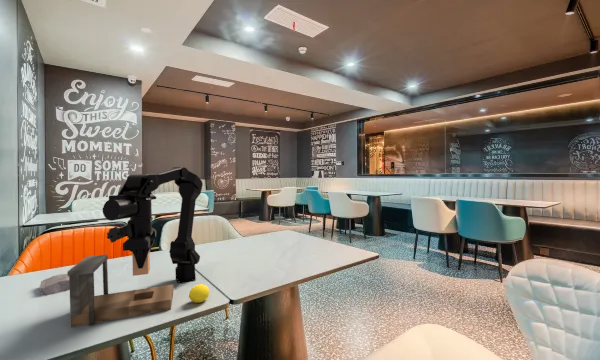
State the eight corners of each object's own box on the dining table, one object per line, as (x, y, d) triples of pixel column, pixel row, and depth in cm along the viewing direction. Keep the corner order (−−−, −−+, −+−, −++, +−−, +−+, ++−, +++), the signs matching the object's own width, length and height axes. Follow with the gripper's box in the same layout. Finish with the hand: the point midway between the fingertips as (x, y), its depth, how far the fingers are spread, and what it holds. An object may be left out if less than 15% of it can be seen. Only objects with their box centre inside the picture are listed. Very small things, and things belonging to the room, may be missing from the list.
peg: (150, 269, 86) (149, 241, 86) (148, 273, 83) (147, 244, 82) (135, 271, 85) (134, 242, 85) (132, 275, 81) (132, 245, 81)
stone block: (44, 302, 91) (81, 287, 98) (39, 289, 90) (77, 274, 98) (40, 293, 99) (75, 279, 106) (36, 281, 98) (71, 268, 106)
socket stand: (173, 291, 93) (172, 247, 93) (170, 311, 80) (169, 259, 80) (88, 305, 84) (86, 256, 84) (68, 329, 71) (67, 271, 71)
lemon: (202, 297, 90) (204, 280, 91) (212, 301, 87) (214, 284, 87) (183, 302, 84) (185, 285, 85) (193, 307, 81) (195, 289, 82)
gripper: (118, 213, 89) (118, 260, 89) (99, 221, 72) (100, 280, 72) (156, 211, 93) (157, 256, 93) (147, 219, 76) (148, 274, 76)
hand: (141, 266), depth 84 cm, fingers closed on peg, 4 cm apart
